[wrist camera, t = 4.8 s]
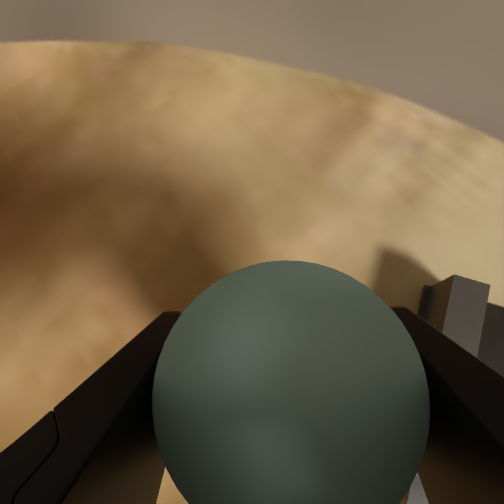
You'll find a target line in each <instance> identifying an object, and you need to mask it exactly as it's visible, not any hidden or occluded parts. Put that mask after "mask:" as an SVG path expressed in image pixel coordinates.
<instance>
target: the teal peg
mask: <svg viewBox="0 0 504 504" xmlns="http://www.w3.org/2000/svg"><path fill="white" fill-rule="evenodd" d="M152 413H153V422H154V429H155V435H156V439H157V443H158V447H159V450H160V454H161V456H162V458H163V461H164V463H165V466H166V468H167V471H168V473H169V474H170V476H171V478H172V480H173V482H174V483H175V485H176V487H177V489H178V490H179V491H180V493H181V494H182V495H183V497H184V498H185V499H186V501H187V502H188V503H189V504H399V503H400V501H401V500H402V498H403V497H404V495H405V494H406V492H407V491H408V489H409V488H410V486H411V484H412V482H413V480H414V478H415V476H416V474H417V472H418V470H419V467H420V464H421V461H422V458H423V455H424V453H425V449H426V443H427V438H428V433H429V421H430V402H429V390H428V385H427V380H426V374H425V371H424V368H423V364H422V361H421V358H420V355H419V353H418V351H417V349H416V346H415V344H414V342H413V340H412V338H411V336H410V334H409V333H408V331H407V330H406V328H405V326H404V325H403V323H402V322H401V320H400V319H399V318H398V317H397V315H396V314H395V313H394V312H393V310H392V309H391V308H390V307H389V306H388V305H387V304H386V303H385V302H384V301H383V300H382V299H381V298H380V297H379V296H378V295H377V294H376V293H374V292H373V291H372V290H370V289H369V288H368V287H366V286H365V285H364V284H362V283H360V282H359V281H357V280H355V279H354V278H352V277H350V276H349V275H346V274H344V273H342V272H339V271H337V270H335V269H332V268H329V267H326V266H322V265H319V264H314V263H308V262H302V261H273V262H265V263H261V264H256V265H251V266H249V267H246V268H243V269H240V270H237V271H235V272H233V273H231V274H229V275H227V276H225V277H223V278H221V279H220V280H218V281H217V282H215V283H214V284H212V285H211V286H209V287H208V288H206V289H205V290H204V291H203V292H202V293H201V294H200V295H198V296H197V297H196V298H195V299H194V300H193V301H192V302H191V303H190V305H189V306H188V307H187V308H186V309H185V310H184V311H183V313H182V314H181V315H180V317H179V318H178V320H177V321H176V323H175V324H174V326H173V327H172V329H171V331H170V333H169V335H168V337H167V339H166V341H165V343H164V346H163V349H162V351H161V354H160V357H159V360H158V364H157V368H156V372H155V376H154V385H153V394H152Z"/></svg>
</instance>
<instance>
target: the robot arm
mask: <svg viewBox="0 0 504 504" xmlns="http://www.w3.org/2000/svg"><path fill="white" fill-rule="evenodd" d="M390 308H391V309H392V310H393V312H394V313H395V314H396V315H397V317H398V318H399V319H400V320H401V322H402V323H403V325H404V326H405V328H406V330H407V331H408V333H409V334H410V336H411V338H412V340H413V342H414V344H415V346H416V349H417V351H418V353H419V355H420V358H421V361H422V364H423V368H424V371H425V374H426V380H427V385H428V390H429V402H430V421H429V433H428V438H427V443H426V449H425V453H424V455H423V458H422V461H421V464H420V467H419V470H418V475H419V478H420V480H421V483H422V486H423V489H424V492H425V495H426V498H427V500H428V503H429V504H504V377H503V376H502V375H501V374H499V373H498V372H496V371H495V370H493V369H492V368H491V367H489V366H488V365H486V364H485V363H484V362H482V361H481V360H479V359H478V358H477V357H475V356H474V355H472V354H471V353H469V352H468V351H467V350H465V349H464V348H462V347H461V346H460V345H458V344H457V343H455V342H454V341H453V340H451V339H450V338H448V337H447V336H446V335H444V334H443V333H441V332H440V331H438V330H437V329H436V328H434V327H433V326H431V325H430V324H429V323H427V322H426V321H424V320H423V319H422V318H420V317H419V316H417V315H416V314H415V313H413V312H412V311H410V310H409V309H407V308H406V307H403V306H393V307H390ZM181 314H182V313H181V312H180V311H167V312H163V313H162V314H161V315H159V316H158V317H157V318H156V319H155V320H154V321H153V322H151V323H150V324H149V325H148V326H147V327H146V328H145V329H143V330H142V331H141V332H140V333H139V334H138V335H137V336H135V337H134V338H133V339H132V340H131V341H130V342H129V343H127V344H126V345H125V346H124V347H123V348H122V349H121V350H119V351H118V352H117V353H116V354H115V355H114V356H113V357H111V358H110V359H109V360H108V361H107V362H106V363H105V364H103V365H102V366H101V367H100V368H99V369H98V370H97V371H95V372H94V373H93V374H92V375H91V376H90V377H89V378H87V379H86V380H85V381H84V382H83V383H82V384H81V385H79V386H78V387H77V388H76V389H75V390H74V391H73V392H72V393H70V394H69V395H68V396H67V397H66V398H65V399H64V400H62V401H61V402H60V403H59V404H58V405H57V406H56V407H54V409H53V411H54V412H53V411H50V412H48V413H47V414H46V415H45V416H44V417H43V418H42V419H40V420H39V421H38V422H37V423H36V424H35V425H34V426H32V427H31V428H30V429H29V430H28V431H26V432H25V433H24V434H23V435H22V436H20V437H19V438H18V439H17V440H16V441H15V442H13V443H12V444H11V445H10V446H8V447H7V448H6V449H5V450H3V451H2V452H1V453H0V504H156V501H157V497H158V493H159V489H160V485H161V481H162V477H163V473H164V469H165V463H164V461H163V458H162V456H161V454H160V450H159V447H158V443H157V439H156V435H155V429H154V422H153V413H152V394H153V385H154V376H155V372H156V368H157V364H158V360H159V357H160V354H161V351H162V349H163V346H164V343H165V341H166V339H167V337H168V335H169V333H170V331H171V329H172V327H173V326H174V324H175V323H176V321H177V320H178V318H179V317H180V315H181Z"/></svg>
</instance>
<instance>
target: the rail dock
mask: <svg viewBox="0 0 504 504" xmlns="http://www.w3.org/2000/svg"><path fill="white" fill-rule="evenodd" d="M489 289H490V285H489V284H485V283H482V282H478V281H475V280H471V279H468V278H464V277H461V276H458V275H452V276H450V277H449V278H447V279H445V280H443V281H441V282H439V283H437V284H435V285H433V286H427V285H425V286H424V287H423V291H422V296H421V300H420V305H419V309H418V314H417V316H419V317H420V318H422V319H423V320H424V321H426V322H427V323H429V324H430V325H431V326H433V327H434V328H436V329H437V330H438V331H440V332H441V333H443V334H444V335H446V336H447V337H448V338H450V339H451V340H453V341H454V342H455V343H457V344H458V345H460V346H461V347H462V348H464V349H465V350H467V351H468V352H469V353H471V354H472V355H474V356H475V357H477V358H478V359H479V360H481V361H482V362H484V363H485V364H486V365H488V366H489V367H491V368H492V369H493V370H495V371H496V372H498V373H499V374H501V375H502V376H503V377H504V308H501V307H498V306H495V305H491V304H488V303H487V300H488V295H489ZM399 504H429V503H428V500H427V498H426V495H425V492H424V489H423V486H422V483H421V480H420V478H419V475H418V472H417V474H416V476H415V478H414V480H413V482H412V484H411V486H410V488H409V489H408V491H407V492H406V494H405V495H404V497H403V498H402V500H401V501H400V503H399Z"/></svg>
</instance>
